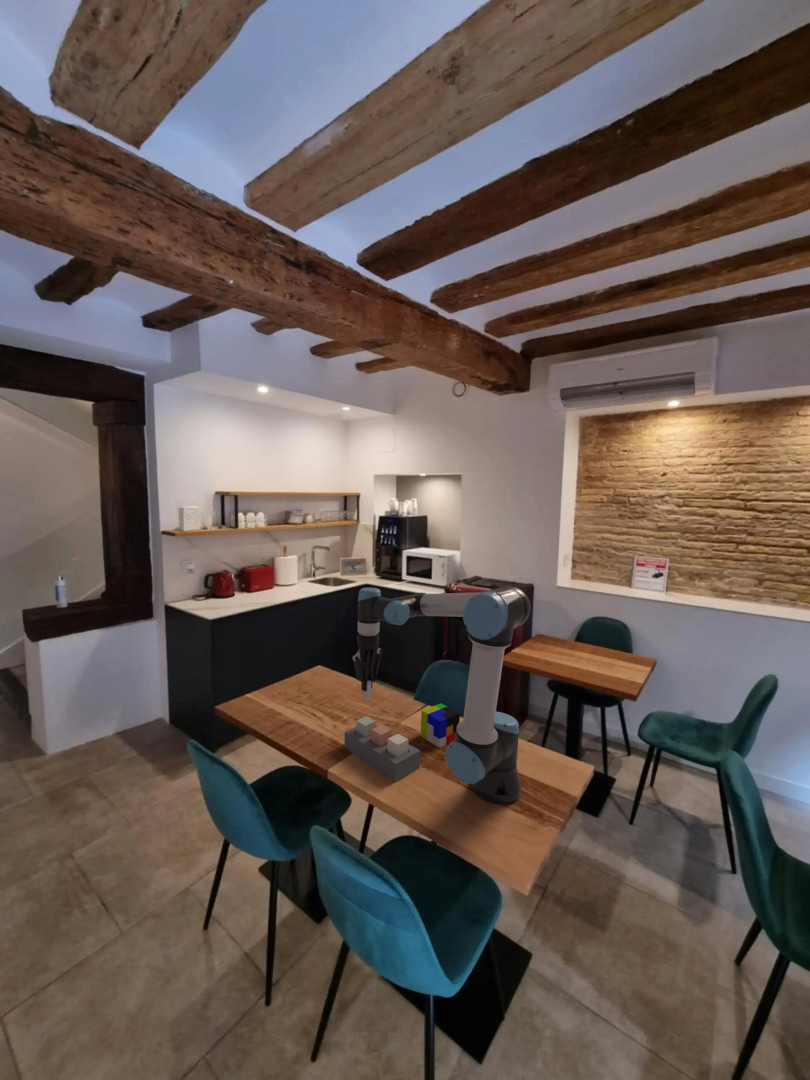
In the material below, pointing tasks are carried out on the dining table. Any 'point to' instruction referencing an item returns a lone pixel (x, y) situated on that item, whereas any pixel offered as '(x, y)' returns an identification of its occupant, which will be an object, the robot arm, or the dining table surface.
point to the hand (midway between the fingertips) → (366, 698)
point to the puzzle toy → (439, 724)
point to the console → (382, 756)
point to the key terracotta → (380, 735)
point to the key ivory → (397, 745)
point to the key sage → (365, 726)
